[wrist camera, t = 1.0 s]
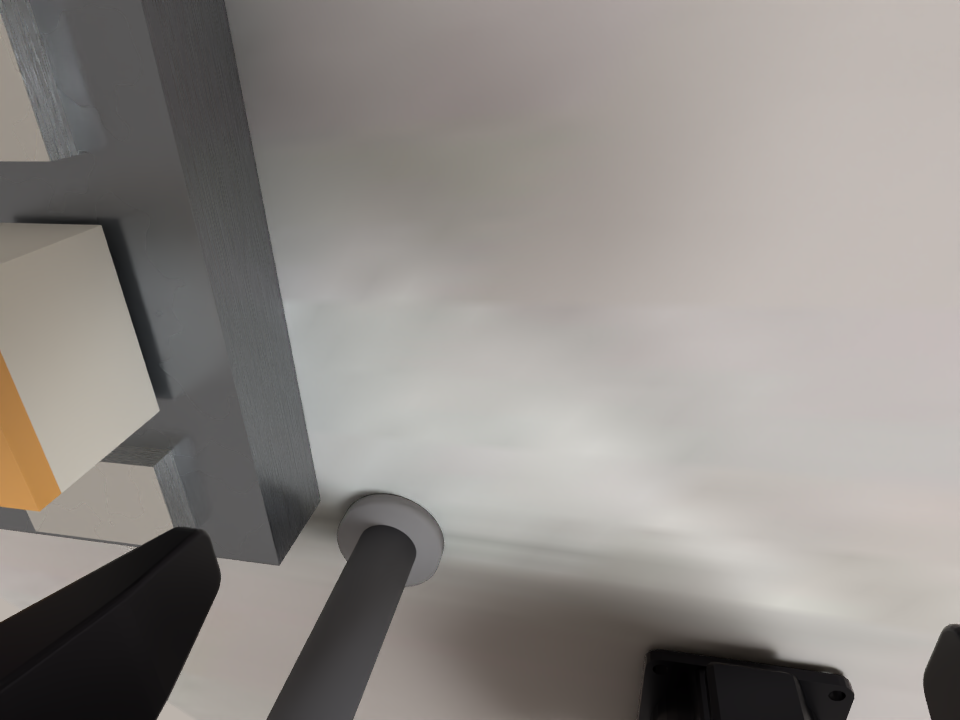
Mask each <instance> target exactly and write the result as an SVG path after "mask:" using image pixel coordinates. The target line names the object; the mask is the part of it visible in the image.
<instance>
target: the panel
mask: <svg viewBox="0 0 960 720" xmlns="http://www.w3.org/2000/svg"><path fill="white" fill-rule="evenodd" d="M0 223H36V224H79V225H102V229H103V232H104V235H105V238H106V241H107V245H108V248H109V251H110V254H111V257H112V260H113V264H114V267H115V270H116V273H117V276H118V279H119V283H120V286H121V289H122V292H123V295H124V298H125V302H126V305H127V308H128V311H129V314H130V318H131V321H132V324H133V327H134V330H135V333H136V337H137V340H138V343H139V346H140V349H141V352H142V356H143V359H144V362H145V365H146V368H147V371H148V375H149V378H150V381H151V384H152V387H153V391H154V394H155V397H156V400H157V403H158V406H159V410H160V411H159V412H158V413H157V414H156V415H154V416H153V417H152V418H151V419H150V420H149V421H147V422H146V423H145V424H144V425H143V426H141V427H140V428H139V429H138V430H137V431H135V432H134V433H133V434H132V435H131V436H129V437H128V438H127V439H126V440H125V441H123V442H122V443H121V444H120V445H119V446H117V447H116V448H115V449H114V450H113V451H111V452H110V453H109V454H108V455H107V456H105V457H104V458H103V459H102V460H101V461H100V462H98V463H97V464H96V465H95V466H94V467H92V468H91V469H90V470H89V471H88V472H86V473H85V474H84V475H83V476H82V477H80V478H79V479H78V480H77V481H76V482H74V483H73V484H72V485H71V486H70V487H68V488H67V489H66V490H65V491H64V492H62V493H61V494H60V495H59V496H58V497H57V498H55V499H54V500H53V501H52V502H51V503H49V504H48V505H47V506H46V507H45V508H43V509H42V510H41V511H40V512H39V511H31V510H23V509H15V508H6V507H0V529H5V530H13V531H20V532H28V533H35V534H43V535H51V536H58V537H66V538H73V539H81V540H88V541H96V542H104V543H111V544H119V545H126V546H134V547H139V546H141V545H143V544H144V543H146V542H148V541H150V540H152V539H154V538H155V537H157V536H159V535H161V534H163V533H164V532H166V531H168V530H170V529H172V528H175V527H181V526H182V527H190V528H198V529H203V530H205V531H206V532H207V533H208V534H209V536H210V538H211V542H212V545H213V548H214V552H215V555H216V557H217V558H225V559H232V560H240V561H247V562H255V563H263V564H270V565H278V566H279V565H280V564H281V562H282V561H283V559H284V557H285V556H286V554H287V553H288V551H289V550H290V548H291V546H292V545H293V543H294V542H295V540H296V539H297V537H298V535H299V534H300V532H301V531H302V529H303V528H304V526H305V524H306V523H307V521H308V520H309V518H310V516H311V515H312V513H313V512H314V510H315V509H316V507H317V505H318V504H319V502H320V497H319V492H318V486H317V481H316V476H315V471H314V466H313V460H312V455H311V450H310V445H309V440H308V435H307V429H306V424H305V419H304V414H303V409H302V403H301V398H300V393H299V388H298V383H297V377H296V372H295V367H294V362H293V357H292V351H291V346H290V341H289V336H288V331H287V325H286V320H285V315H284V310H283V305H282V299H281V294H280V289H279V284H278V279H277V273H276V268H275V263H274V258H273V253H272V248H271V242H270V237H269V232H268V227H267V222H266V216H265V211H264V206H263V201H262V196H261V190H260V185H259V180H258V175H257V170H256V164H255V159H254V154H253V149H252V144H251V138H250V133H249V128H248V123H247V118H246V112H245V107H244V102H243V97H242V92H241V86H240V81H239V76H238V71H237V66H236V61H235V55H234V50H233V45H232V40H231V35H230V29H229V24H228V19H227V14H226V9H225V3H224V0H0Z"/></svg>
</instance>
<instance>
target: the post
mask: <svg viewBox="0 0 960 720" xmlns="http://www.w3.org/2000/svg"><path fill="white" fill-rule="evenodd" d="M337 541H338V545H339V548H340V551H341V553H342V555H343V556H344V558H345V559H346V561H347V563H346V565H345V567H344V569H343V571H342V573H341V575H340V577H339V579H338V581H337V583H336V585H335V587H334V589H333V591H332V593H331V595H330V597H329V598H328V600H327V602H326V604H325V606H324V608H323V610H322V612H321V614H320V616H319V618H318V620H317V622H316V624H315V626H314V628H313V630H312V632H311V634H310V636H309V638H308V639H307V641H306V643H305V645H304V647H303V649H302V651H301V653H300V655H299V657H298V659H297V661H296V663H295V665H294V667H293V669H292V671H291V673H290V675H289V677H288V679H287V680H286V682H285V684H284V686H283V688H282V690H281V692H280V694H279V696H278V698H277V700H276V702H275V704H274V706H273V708H272V710H271V712H270V714H269V716H268V718H267V719H266V720H353V718H354V716H355V713H356V711H357V708H358V705H359V703H360V700H361V698H362V695H363V693H364V690H365V687H366V685H367V682H368V680H369V677H370V675H371V672H372V669H373V667H374V664H375V662H376V659H377V657H378V654H379V651H380V649H381V646H382V644H383V641H384V638H385V636H386V633H387V631H388V628H389V626H390V623H391V620H392V618H393V615H394V613H395V610H396V608H397V605H398V602H399V600H400V597H401V595H402V592H403V590H404V587H409V586H415V585H418V584H421V583H423V582H425V581H426V580H428V579H429V578H430V577H431V576H432V575H433V574H434V573H435V571H436V570H437V568H438V565H439V562H440V559H441V556H442V553H443V549H444V538H443V534H442V531H441V529H440V527H439V525H438V524H437V522H436V521H435V519H434V518H433V517H432V516H431V515H430V514H429V513H428V512H427V511H426V510H425V509H423V508H422V507H421V506H419V505H418V504H416V503H414V502H412V501H410V500H408V499H405V498H403V497H399V496H395V495H389V494H374V495H369V496H366V497H363V498H361V499H359V500H357V501H356V502H354V503H353V504H352V505H351V506H350V507H349V509H348V510H347V512H346V514H345V516H344V517H343V519H342V521H341V523H340V525H339V527H338V531H337Z"/></svg>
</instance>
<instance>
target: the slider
mask: <svg viewBox="0 0 960 720" xmlns="http://www.w3.org/2000/svg"><path fill="white" fill-rule="evenodd" d="M159 411H160V410H159V406H158V403H157V400H156V397H155V394H154V391H153V387H152V384H151V381H150V378H149V375H148V371H147V368H146V365H145V362H144V359H143V356H142V352H141V349H140V346H139V343H138V340H137V337H136V333H135V330H134V327H133V324H132V321H131V318H130V314H129V311H128V308H127V305H126V302H125V298H124V295H123V292H122V289H121V286H120V283H119V279H118V276H117V273H116V270H115V267H114V264H113V260H112V257H111V254H110V251H109V248H108V245H107V241H106V238H105V235H104V232H103V229H102V225H79V224H36V223H0V507H6V508H15V509H23V510H31V511H39V512H40V511H41V510H42V509H43V508H45V507H46V506H47V505H48V504H49V503H51V502H52V501H53V500H54V499H55V498H57V497H58V496H59V495H60V494H61V493H62V492H64V491H65V490H66V489H67V488H68V487H70V486H71V485H72V484H73V483H74V482H76V481H77V480H78V479H79V478H80V477H82V476H83V475H84V474H85V473H86V472H88V471H89V470H90V469H91V468H92V467H94V466H95V465H96V464H97V463H98V462H100V461H101V460H102V459H103V458H104V457H105V456H107V455H108V454H109V453H110V452H111V451H113V450H114V449H115V448H116V447H117V446H119V445H120V444H121V443H122V442H123V441H125V440H126V439H127V438H128V437H129V436H131V435H132V434H133V433H134V432H135V431H137V430H138V429H139V428H140V427H141V426H143V425H144V424H145V423H146V422H147V421H149V420H150V419H151V418H152V417H153V416H154V415H156V414H157V413H158V412H159Z"/></svg>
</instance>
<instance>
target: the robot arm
mask: <svg viewBox="0 0 960 720" xmlns="http://www.w3.org/2000/svg"><path fill="white" fill-rule="evenodd" d="M220 581H221V573H220V568H219V565H218V562H217V558H216V555H215V552H214V548H213V545H212V542H211V538H210V536H209V534H208V533H207V532H206V531H205V530H203V529H198V528H190V527H182V526H181V527H175V528H172V529H170V530H168V531H166V532H164V533H163V534H161V535H159V536H157V537H155V538H154V539H152V540H150V541H148V542H146V543H144V544H143V545H141V546H139V547H137V548H135V549H133V550H132V551H130V552H128V553H126V554H124V555H122V556H121V557H119V558H117V559H115V560H113V561H112V562H110V563H108V564H106V565H104V566H102V567H101V568H99V569H97V570H95V571H93V572H91V573H90V574H88V575H86V576H84V577H82V578H80V579H79V580H77V581H75V582H73V583H71V584H69V585H68V586H66V587H64V588H62V589H60V590H59V591H57V592H55V593H53V594H51V595H49V596H48V597H46V598H44V599H42V600H40V601H38V602H37V603H35V604H33V605H31V606H29V607H27V608H26V609H24V610H22V611H20V612H18V613H17V614H15V615H13V616H11V617H9V618H7V619H6V620H4V621H2V622H0V720H157V718H158V716H159V714H160V712H161V710H162V709H163V707H164V705H165V703H166V701H167V700H168V698H169V696H170V694H171V692H172V690H173V688H174V686H175V683H176V681H177V679H178V677H179V675H180V673H181V671H182V669H183V666H184V664H185V662H186V660H187V658H188V656H189V653H190V651H191V649H192V647H193V645H194V642H195V640H196V638H197V636H198V634H199V632H200V629H201V627H202V625H203V623H204V621H205V619H206V616H207V614H208V612H209V610H210V608H211V606H212V603H213V601H214V599H215V597H216V595H217V592H218V590H219V586H220ZM923 686H924V693H925V698H926V701H927V705H928V709H929V713H930V716H931V720H960V624H950V625H948V626H946V627H945V628H944V629H943V631H942V632H941V634H940V637H939V639H938V641H937V643H936V646H935V648H934V650H933V653H932V655H931V657H930V660H929V662H928V664H927V667H926V669H925V672H924V678H923ZM853 700H854V692H853V689H852V686H851V684H850V682H849V680H848V679H847V678H845V677H844V676H840V675H836V674H829V673H822V672H815V671H808V670H801V669H794V668H787V667H780V666H773V665H766V664H759V663H752V662H745V661H738V660H731V659H723V658H716V657H709V656H702V655H695V654H688V653H681V652H674V651H667V650H652V651H650V652H648V653H647V654H646V656H645V660H644V668H643V676H642V684H641V692H640V699H639V707H638V715H637V720H846V719H847V716H848V713H849V711H850V708H851V705H852V703H853Z"/></svg>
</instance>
